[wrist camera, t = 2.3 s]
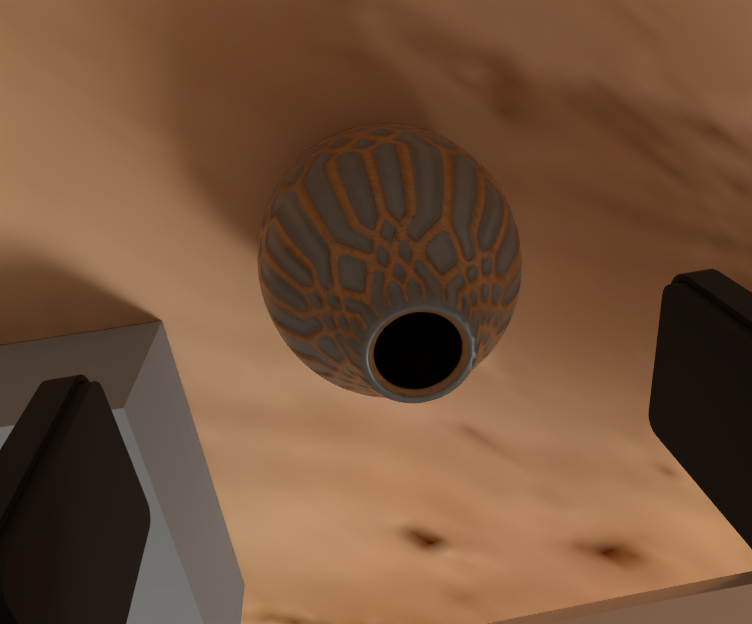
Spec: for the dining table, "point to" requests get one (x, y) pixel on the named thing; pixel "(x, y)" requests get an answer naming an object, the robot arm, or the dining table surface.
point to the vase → (389, 261)
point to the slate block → (146, 464)
